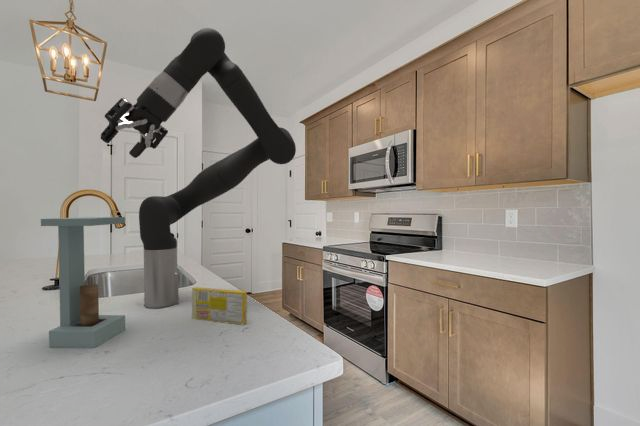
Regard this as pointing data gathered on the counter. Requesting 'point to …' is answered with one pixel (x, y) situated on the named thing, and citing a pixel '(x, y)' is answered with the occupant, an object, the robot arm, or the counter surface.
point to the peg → (89, 305)
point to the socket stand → (78, 286)
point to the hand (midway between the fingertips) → (118, 148)
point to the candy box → (219, 305)
